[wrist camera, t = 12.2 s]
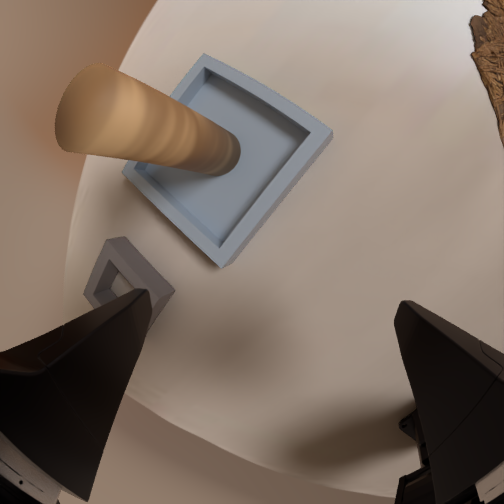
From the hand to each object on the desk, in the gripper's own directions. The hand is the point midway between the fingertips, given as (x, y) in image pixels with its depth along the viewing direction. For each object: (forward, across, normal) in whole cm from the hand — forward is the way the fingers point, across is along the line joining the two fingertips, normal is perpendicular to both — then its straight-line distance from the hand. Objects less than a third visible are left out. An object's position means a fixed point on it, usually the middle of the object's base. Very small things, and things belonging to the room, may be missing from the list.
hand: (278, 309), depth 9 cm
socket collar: (+13, +13, +8) cm, 20 cm away
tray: (+14, +4, -4) cm, 15 cm away
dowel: (+14, +4, -4) cm, 15 cm away
